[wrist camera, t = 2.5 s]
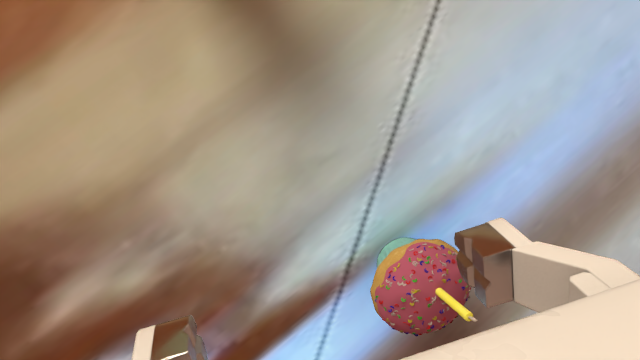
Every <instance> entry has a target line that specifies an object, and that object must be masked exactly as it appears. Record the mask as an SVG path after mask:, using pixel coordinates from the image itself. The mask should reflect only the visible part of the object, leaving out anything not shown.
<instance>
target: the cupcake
mask: <svg viewBox="0 0 640 360" xmlns="http://www.w3.org/2000/svg"><path fill="white" fill-rule="evenodd" d="M457 254H458V251H457V250H456V249H455V248H453V247H452V246H450V245H449V244H447V243H445V242H444V241H442V240H438V239H434V240H425V239H418V240H416V239H413V238H399V239H396V240H393V241H392V242H390V243H389V244H387V245H386V246H385V247H384V248H383V249H382V251H381V252H380V254H379V256H378V260H377V270H376V273H375V276H374V280H373V284H372V287H371V291H370V292H371V297H372V300H373V304H374V307H375V310H376V312H377V313H378V315H379V316H380V317H381V318H382V320H384V321H385V322H386V323H387V324H388V325H389V326H391V327H392V329H395V330H398V331H400V332H401V333H402V332H404V333H405V334H408V333H410V334H414V335H415V334H416V335H415V336H418V334H419V335H422V334H423V333H432V332H437V331H438V330H440V329H441V328H444V327H445V325H447V324H449V323H451V322H452V321H453V319H454V318H456V317H458V315H460V316H461V317H463V318H464V319H465V320H466V321H471V320H472V321H474V322H477V319H475V318H473V314H472V313H471V312H470V311H469V310H467V309H466V308H465V307H464V304H465V302H466V301H467V298H470V296H469V292H470V291H471V286H468V285H467V284H466V282H465V281H464V280H463V278H462V276H461V274H460V272H459V269H458V266H457V259H456V256H457ZM468 296H469V297H468ZM435 330H437V331H435Z"/></svg>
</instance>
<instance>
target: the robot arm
mask: <svg viewBox="0 0 640 360" xmlns="http://www.w3.org/2000/svg"><path fill="white" fill-rule="evenodd" d="M454 239H455V245H456V246H457V247H458V248H459V252H458V254H457V256H456V259H457V266H458V269H459V272H460V274H461V276H462V278H463V280H464V281H465V282H466V284H467V285H468V286H471V287H474V288H475V294H476V296H477V297H478V298H479V299H480V300H481V302H482V303H483V304H484V305H485V306H486V307H487V308H489V307H493V306H496V305H499V304H503V303H506V302H509V301H513V300H514V302H517V303H519V304H521V305H523V306H525V307H527V308H530V309H532V310H534V311H536V312H538V313H537V314H534V315H531V316H528V317H525V318H522V319H519V320H516V321H513V322H510V323H507V324H504V325H501V326H498V327H495V328H492V329H489V330H486V331H483V332H480V333H477V334H474V335H471V336H468V337H465V338H463V339H460V340H457V341H454V342H451V343H448V344H445V345H442V346H439V347H436V348H433V349H430V350H427V351H424V352H421V353H418V354H415V355H412V356H409V357H406V358H403V359H400V360H640V276H639V275H638V274H636V273H635V272H633V271H632V270H630V269H629V268H628V267H626V266H625V265H623V264H622V263H621V262H619V261H618V260H615V259H611V258H606V257H602V256H598V255H594V254H589V253H585V252H581V251H577V250H572V249H568V248H564V247H560V246H555V245H551V244H547V243H543V242H538V241H537V242H532V241H530V240H529V239H528V238H527V237H525V236H524V235H523V234H522V233H521V232H519V231H518V230H517V229H516V228H515V227H513V226H512V225H511V224H510V223H508V222H507V221H506V220H505V219H504V218H498V219H495V220H492V221H489V222H486V223H485V224H481V225H478V226H475V227H472V228H469V229H466V230H463V231H460V232H456V233H455V237H454ZM132 360H208V357H207V351H206V348H205V345H204V342H203V340H202V337H200V336H198V335H197V325H196V323H195V321H194V319H193V317H192V316H191V315H188V316H185V317H181V318H178V319H174V320H171V321H167V322H164V323H160V324H157V325H154V326H150V327H147V328H144V329H141V330H139V331H138V332H137V334H136V339H135V345H134V350H133V355H132Z"/></svg>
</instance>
